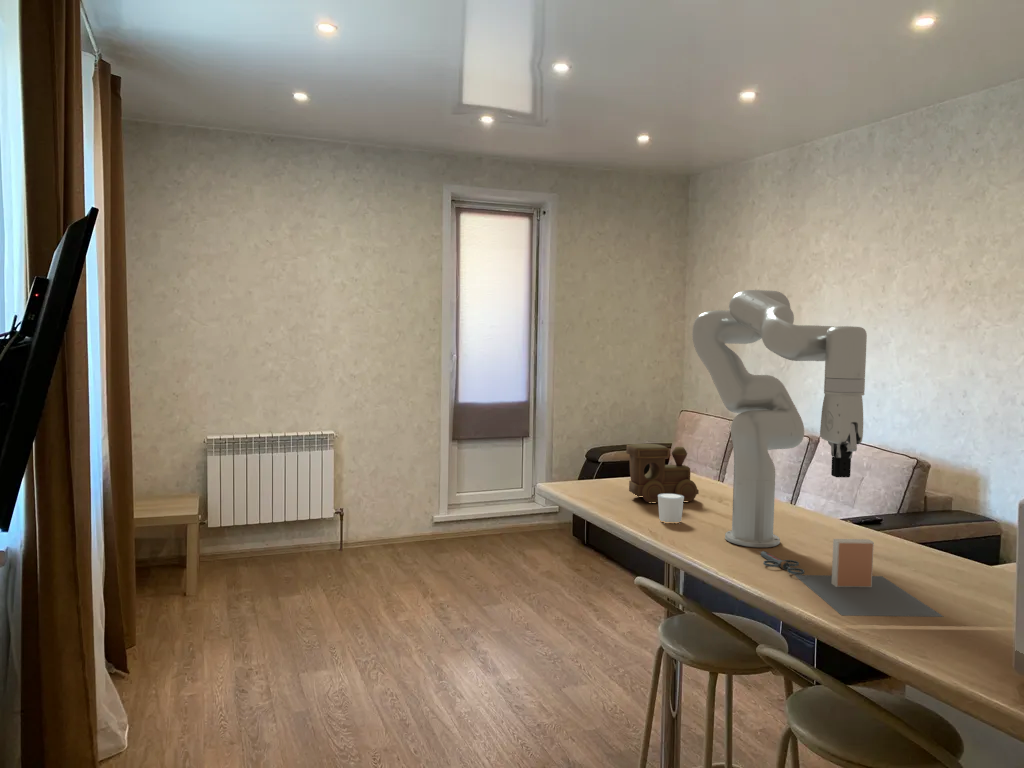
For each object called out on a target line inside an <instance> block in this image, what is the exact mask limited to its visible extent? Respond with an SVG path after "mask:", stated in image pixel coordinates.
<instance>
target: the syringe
mask: <svg viewBox="0 0 1024 768" xmlns="http://www.w3.org/2000/svg"><path fill="white" fill-rule="evenodd" d="M757 552H759V553H760V557H762V558H764V559H766V560H763V563H762V564H763V565H764V566H766V567H771V568H777V567H780V568H781V569H783V570H786V572H787V573H788V574H792V575H805V570H804V569H803V568H799V567H798V566H800V562H799V561H797V560H794V559H784V560H782V559H780V558H778V557H776V556H775V555H772V554H771V553H769V552H767V551H764V550H762V551H759V550H757Z"/></svg>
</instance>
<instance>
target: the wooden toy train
mask: <svg viewBox="0 0 1024 768" xmlns="http://www.w3.org/2000/svg"><path fill="white" fill-rule="evenodd" d="M626 454H627V455H629V475H630V480H629V481H628V482H629V483H628V491H629V492H630V493H631V494H633V495H634V494H635V495H637V496H643V497H642V498H643V501H645V502H646V503H647V502H658V495H659V494H663V493H672V494H679V495H682V496H684V501H690V502H692V501H694V499H695V498H696V496H697V495H699V493H700V492H699V489H698V486H697V485H696V483H695V481H693V480H691V467H689V466H688V465H685V464H684V462H685V460H686V458H687V456H688V452H687V450H686V449H685V447H684V446H675V447H674V449H673V450H672V452H671V456H672V459H673V460H674V462H675V464H666V459H668V458H669V457H670V456H669V455H670V448H668V447H667V446H665V445H662V444H657V443H632V444H631V443H630V444H626ZM648 465H649V469H648V471H647V472H646V473H645V468H646V467H647V466H648ZM635 495H634V496H635ZM637 496H636V497H637ZM691 500H692V501H691Z"/></svg>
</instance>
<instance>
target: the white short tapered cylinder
mask: <svg viewBox="0 0 1024 768" xmlns="http://www.w3.org/2000/svg"><path fill="white" fill-rule="evenodd" d="M683 502H684V496H682V495H679V494H672V493H663V494H659V495H658V503H657V504H658V516H659V517H658V518H659V519H660V520H661V521H665V522H680V521H681V522H682V518H683V510H684V509H683V508H684V503H683Z"/></svg>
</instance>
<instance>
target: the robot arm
mask: <svg viewBox="0 0 1024 768" xmlns="http://www.w3.org/2000/svg"><path fill="white" fill-rule="evenodd" d="M728 304H729V305H728V310H726V309H725V310H722V309H721V310H719V309H718V310H709V311H705V312H702V313H701V314H698V316H697V317H696V318H695V320H694V321H693V326H692V333H691V335H692V343H693V347H694V349H695V352H696V354H697V356H698V357H699V359H700V361H701V362H702V363H703V365H704V366H705V368H706V369H707V371H708V373H709V375H710V377H711V379H712V382H713V384H714V386H715V388H716V390H717V393H718V395H719V397H720V399H721V401H722V403H723V405H724V406H725V408H726V409H727V410H728V411H729V412H732V413H736V416H735V417H734V418H733V419H732V420H731V421H732V422H731V425H730V436H731V442H732V450H733V486H732V487H733V488H732V491H733V492H732V493H733V494H732V516H731V517H732V520H731V521H732V522H731V530H728V531H726V532H725V534H724V538H725V540H726V541H728V542H729V543H732V544H735V545H738V546H743V547H748V548H772V547H773V548H774V547H777V546H778V545H780V541H781V538H780V537H779V536H778V535H776V534H775V533H774V525H775V524H774V521H775V519H774V518H775V498H776V497H775V496H776V495H775V494H776V467H775V464H774V461H773V459H772V457H771V455H770V454H769V451H771V450H788V449H793V448H796V447H798V446H799V445H800V444H801V443H802V442H803V440H804V437H805V426H804V422H803V419H802V417H801V414H800V413H799V411H798V409H797V407H796V405H795V404H794V400H793V399H792V397H791V395H790V393H789V392H788V390H787V388H786V386H785V385H784V384H783V382H782V381H781V380H780V379H779V378H777V377H776V376H774V375H769V374H752V373H750V372H749V371H748V370H747V368H746V367H745V364H744V362H743V361H742V359H741V358H740V356H739V355H738V354H737V353H736V352H735V351H734V350H733V349H732V348H730V347H728V345H726V344H729V345H730V344H731V345H732V344H739V345H747V344H753V343H757V342H758V341H760V340H761V339H762V342H763V343H762V344H764V347H765V348H767V350H769V351H770V352H772V353H774V354H775V355H777V356H779V357H781V358H784V359H785V360H788V361H793V362H824V363H825V364H824V379H823V381H824V384H823V386H824V387H823V394H824V395H823V400H822V401H823V402H822V408H821V417H820V428H819V430H820V431H819V436H820V438H821V439H822V440H824V441H827V444H828V445H830V453H831V454H830V455H831V468H830V469H831V476H832V477H834V478H850V477H851V472H852V471H851V465H852V458H853V454H854V453H853V452H857V450H858V445H860V444H861V443H862V442H863V437H864V403H863V402H864V401H863V400H864V399H863V396H864V395H865V392H866V391H865V388H866V387H865V386H866V385H865V384H866V363H867V361H866V360H867V336H868V335H867V331H866V329H865V328H864V327H862V326H854V325H853V326H851V325H850V326H848V325H846V326H841V325H840V326H835V325H834V326H833V325H807V324H805V325H804V324H802V325H799V324H798V325H797V324H794V320H795V317H794V316H795V315H794V312H793V310H792V308H791V302H790V300H789V299H788V297H787V296H786V295H785V294H784V293H782V292H780V291H777V290H764V289H746V290H741V291H739V292H737V293H735V294H734V295H733V296H732V297H731V299H730V301H729V303H728Z"/></svg>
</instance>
